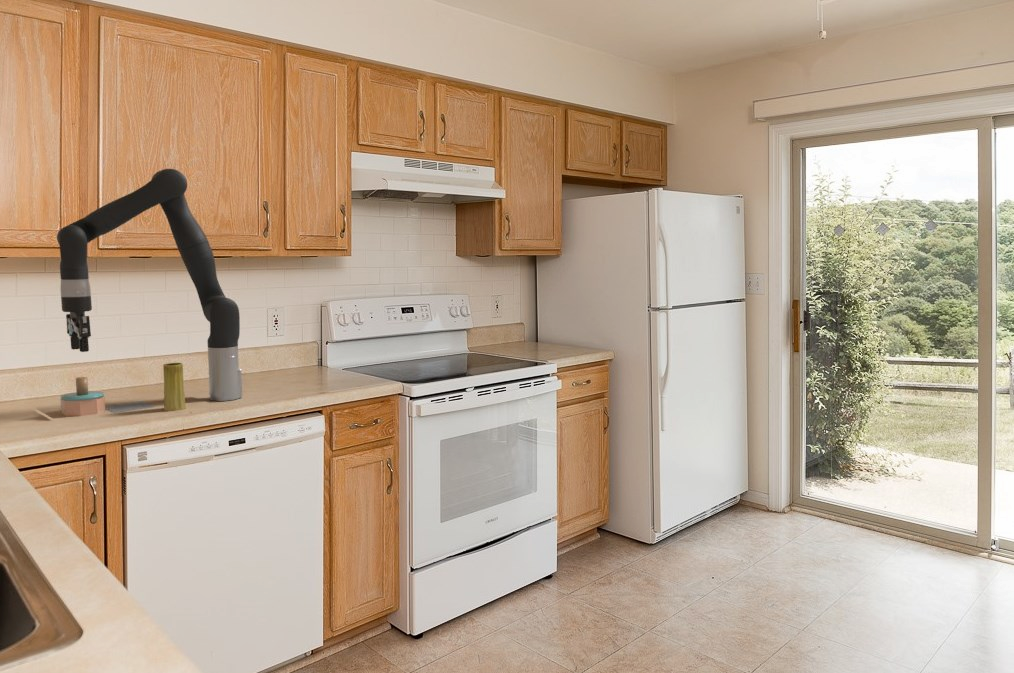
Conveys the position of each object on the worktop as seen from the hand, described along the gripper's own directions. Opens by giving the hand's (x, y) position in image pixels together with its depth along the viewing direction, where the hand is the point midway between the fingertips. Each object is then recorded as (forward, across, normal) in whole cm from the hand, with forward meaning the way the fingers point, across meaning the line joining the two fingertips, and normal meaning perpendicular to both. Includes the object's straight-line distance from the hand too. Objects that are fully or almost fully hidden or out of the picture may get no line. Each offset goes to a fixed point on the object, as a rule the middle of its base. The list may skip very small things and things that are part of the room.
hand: (79, 350), depth 214 cm
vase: (+19, -14, -21) cm, 32 cm away
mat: (+19, -1, -12) cm, 22 cm away
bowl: (+19, 0, 0) cm, 19 cm away
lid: (+14, 0, 0) cm, 14 cm away
